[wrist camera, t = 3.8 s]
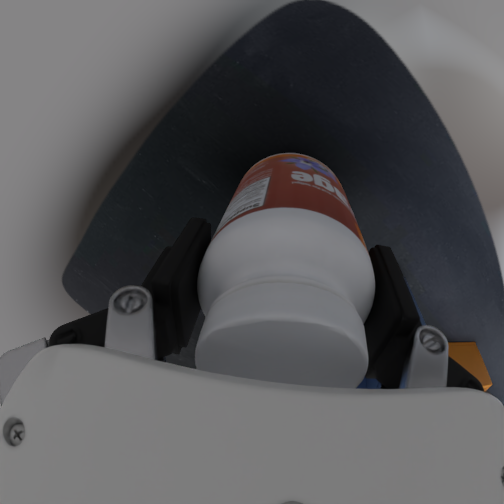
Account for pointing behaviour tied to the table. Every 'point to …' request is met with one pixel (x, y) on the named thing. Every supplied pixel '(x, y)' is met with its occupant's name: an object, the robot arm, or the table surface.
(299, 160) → the pill bottle
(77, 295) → the table surface
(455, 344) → the amber bin
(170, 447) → the robot arm
